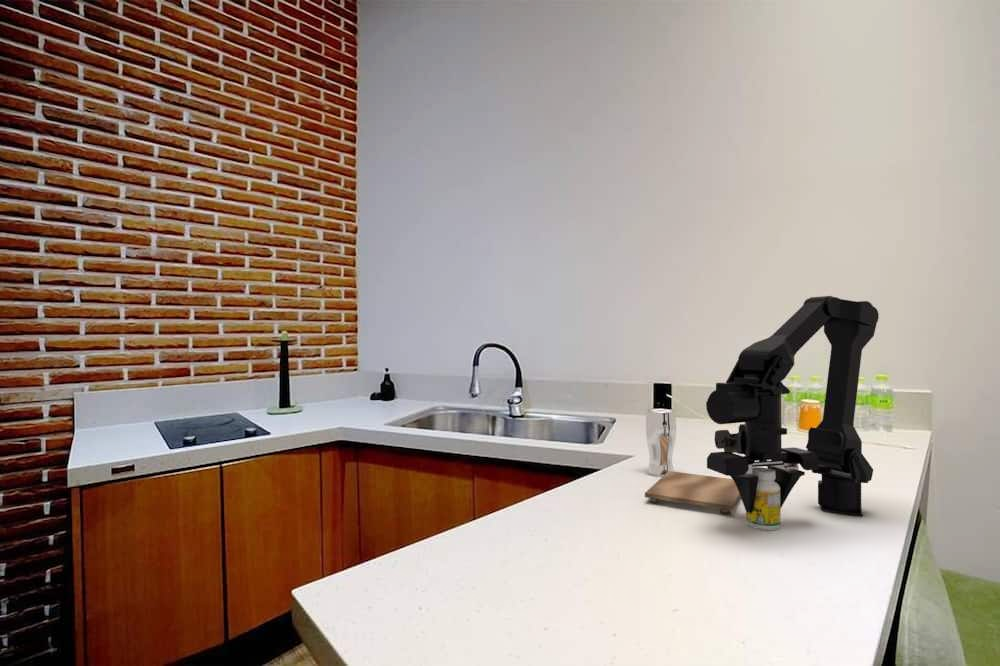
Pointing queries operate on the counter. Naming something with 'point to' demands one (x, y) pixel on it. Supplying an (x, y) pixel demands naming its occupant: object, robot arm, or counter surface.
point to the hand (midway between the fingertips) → (762, 510)
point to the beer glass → (660, 440)
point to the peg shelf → (696, 491)
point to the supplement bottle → (765, 501)
